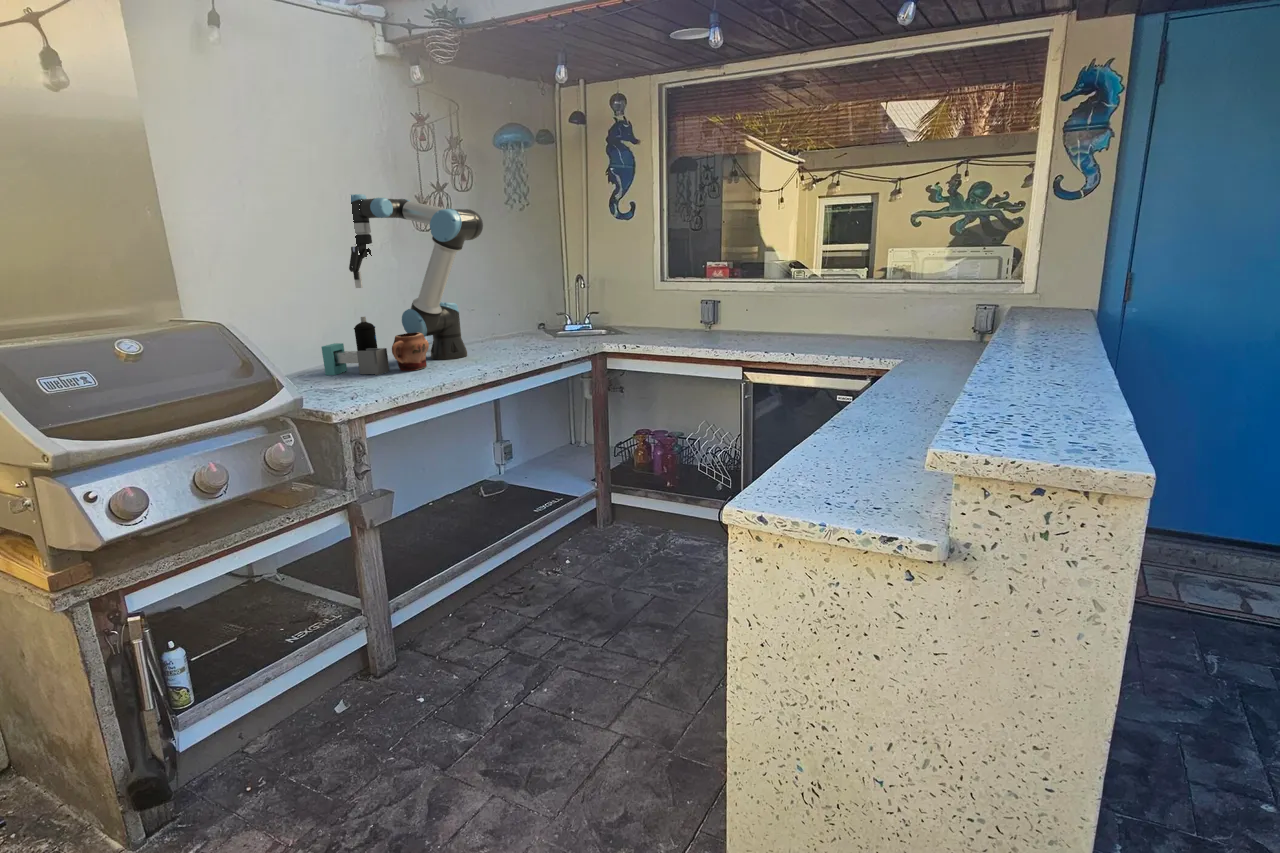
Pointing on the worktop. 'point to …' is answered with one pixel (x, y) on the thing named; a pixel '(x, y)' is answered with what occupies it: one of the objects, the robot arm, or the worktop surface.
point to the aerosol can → (365, 335)
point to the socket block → (329, 359)
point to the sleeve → (373, 361)
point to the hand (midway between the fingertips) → (368, 286)
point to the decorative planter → (410, 351)
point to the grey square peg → (345, 356)
